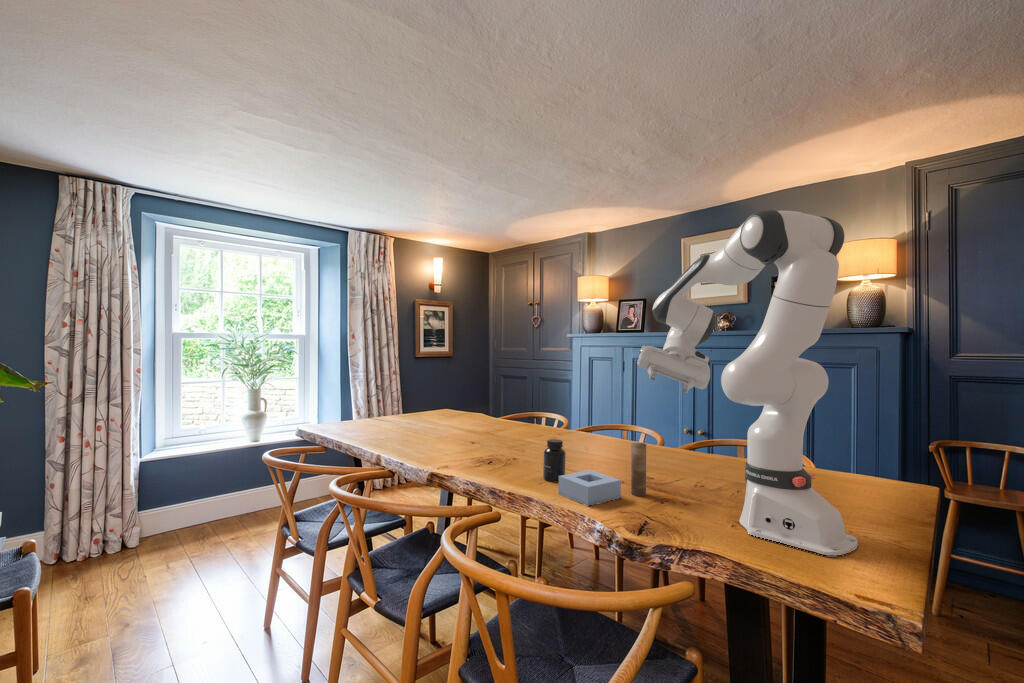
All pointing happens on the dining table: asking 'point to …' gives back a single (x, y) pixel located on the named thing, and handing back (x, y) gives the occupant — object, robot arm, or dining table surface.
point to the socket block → (589, 487)
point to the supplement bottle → (554, 460)
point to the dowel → (638, 469)
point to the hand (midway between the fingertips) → (668, 384)
